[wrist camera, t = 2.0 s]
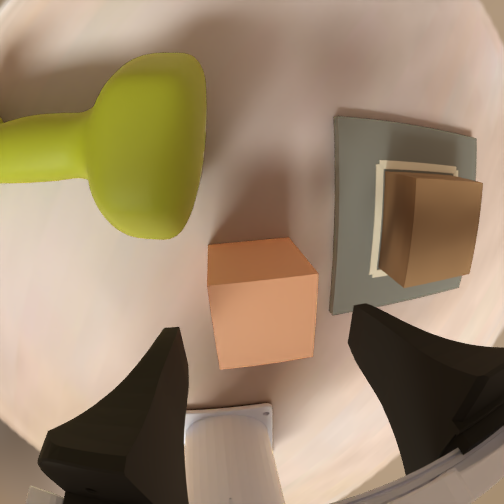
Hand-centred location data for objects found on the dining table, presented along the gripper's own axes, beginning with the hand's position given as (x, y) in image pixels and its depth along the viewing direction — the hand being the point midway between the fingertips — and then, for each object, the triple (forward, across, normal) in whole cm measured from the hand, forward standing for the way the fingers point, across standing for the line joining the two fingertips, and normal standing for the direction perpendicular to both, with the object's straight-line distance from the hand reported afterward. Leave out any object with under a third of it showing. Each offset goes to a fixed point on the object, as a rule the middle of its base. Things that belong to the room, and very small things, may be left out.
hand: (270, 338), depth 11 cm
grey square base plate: (+6, -11, -3) cm, 13 cm away
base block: (+5, -11, -3) cm, 13 cm away
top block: (+6, 0, 0) cm, 6 cm away
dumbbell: (+6, +10, -9) cm, 15 cm away
